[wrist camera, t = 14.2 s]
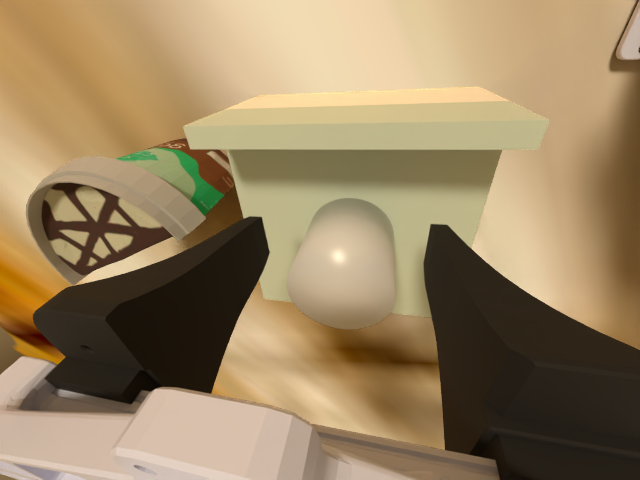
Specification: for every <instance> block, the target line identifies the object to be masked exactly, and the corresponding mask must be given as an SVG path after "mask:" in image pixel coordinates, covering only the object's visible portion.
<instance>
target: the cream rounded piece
mask: <svg viewBox="0 0 640 480" xmlns="http://www.w3.org/2000/svg"><path fill="white" fill-rule="evenodd" d="M287 290H288V294H289V296H290V299H291V300H292V302H293V303H294V305H295V306H296V307H297V308H298V309H299V310H300V311H301V312H302V313H303V314H304V315H306V316H307V317H309V318H310V319H312V320H314V321H316V322H318V323H320V324H323V325H326V326H329V327H333V328H339V329H361V328H366V327H369V326H372V325H375V324H377V323H379V322H380V321H382V320H383V319H384V318H386V317H387V316H388V315H389V313H390V312H391V310H392V308H393V306H394V302H395V266H394V232H393V227H392V224H391V222H390V220H389V218H388V217H387V215H386V214H385V213H384V212H383V211H382V210H381V209H380V208H378V207H377V206H375V205H374V204H372V203H370V202H367V201H364V200H361V199H356V198H342V199H337V200H333V201H331V202H329V203H327V204H325V205H324V206H322V207H321V208H320V209H319V210H318V211H317V212H316V213H315V215H314V216H313V219H312V221H311V223H310V225H309V228H308V230H307V232H306V235H305V237H304V239H303V242H302V244H301V246H300V249H299V251H298V253H297V256H296V258H295V260H294V263H293V265H292V267H291V270H290V272H289V274H288V278H287Z"/></svg>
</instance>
